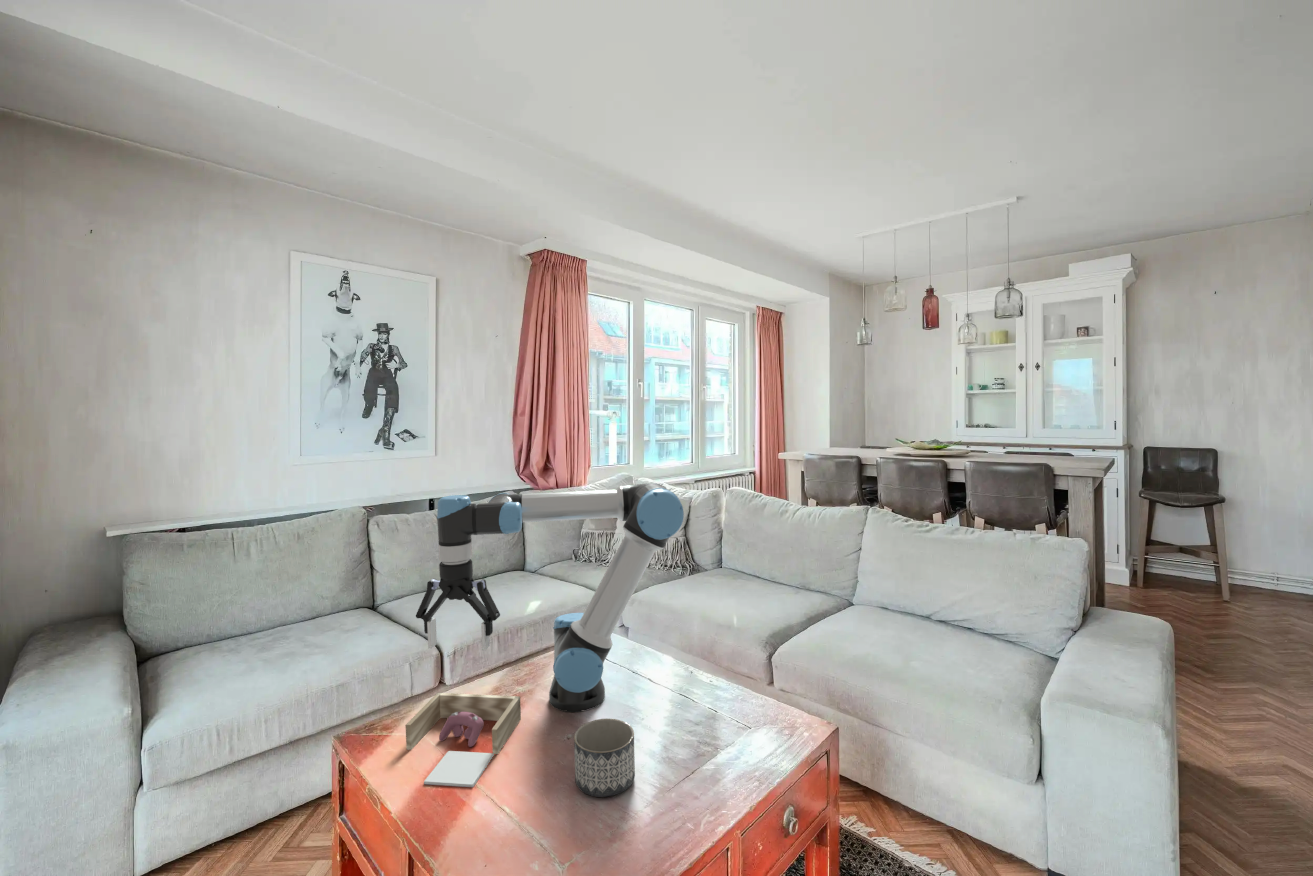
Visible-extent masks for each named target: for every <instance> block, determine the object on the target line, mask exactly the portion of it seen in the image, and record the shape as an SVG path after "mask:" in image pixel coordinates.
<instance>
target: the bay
mask: <svg viewBox="0 0 1313 876" xmlns="http://www.w3.org/2000/svg"><path fill="white" fill-rule="evenodd" d="M521 710H522V709H521V696H518V695H515V696H514V695H496V694H495V695H493V694H473V693H472V694H471V693H450V692H449V693H448V692H436V694H435V695H434V696H432V698H431V699H430V700H429V701H427V702H426V704H424V705H423V707H421V709H420V710H419V711H418V712H417V713H415V714H414V716H413V717H412V718H410V720H408V721H407V722H406V724H405V746H406V747H405V748H406V749H405V750H409V751H410V750H411V751H412V750H413V749H414V747H415V746H416V745H417V744H418V743H419V742H420V741H421V740H422V739H423V738H424V736H425V735H426V734H427V733H428V732H429V731H430V730H431V729H432V728H433V727H434V726H435V725H436V723H437V722H438V721H439V720H440V719H448V717H449V716H451V714H452V713H456V712H471V713H473V714H475V715H477V716H478V717H480V718H482V720H483V721H494V722H495V721H496V723H495V725H493V727H492V728H491V742H492V743H491V746H492V748H491V749H492V753H494V754H498V753H499V754H500V752H501V750H502V749H503V747H504V746H505V744H506V743H507V741H508V740H509V738H510V736H511V735H512V733H513V732H514V731H515V729H516V728H517V726H518V724H519V723H520V721H521V719H522V717H521V713H522V712H521ZM507 739H508V740H507ZM503 745H504V746H503ZM501 748H502V749H501ZM499 751H500V752H499ZM499 754H498V755H499Z"/></svg>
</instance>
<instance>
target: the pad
mask: <svg viewBox="0 0 1313 876" xmlns="http://www.w3.org/2000/svg"><path fill="white" fill-rule="evenodd" d="M493 756H494V757H495V755H494V753H493V752H478V751H474V752H473V751H459V750H458V751H457V750H456V751H455V750H448V751H447V752H446V753H445V754H444V756H443V757H442V758H441V759H440V761H439V762H438V763H437V764H436V766H435V767H434V768H433V769H432V771H431V772H430V773H429V774H428V775H427V777H426V778H425V779H424V780H423V784H424V785H433V786H446V787H447V786H448V787H461V788H462V787H463V788H465V787H467V788H474V787H475V786H476V784H477V782H478V781H479V779H480V778H481V776H482V775H483V773H484V772H483V771H486V769H487V767H488V766H489V764H490V763H489V762H491V761H492V760H491V759H493V758H494V757H493ZM492 757H493V758H492ZM490 760H491V761H490ZM488 763H489V764H488ZM487 765H488V766H487ZM485 768H486V769H485Z"/></svg>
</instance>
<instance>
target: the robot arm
mask: <svg viewBox="0 0 1313 876" xmlns="http://www.w3.org/2000/svg"><path fill="white" fill-rule="evenodd" d="M684 512H685V511H684V507H683V505H682V502H681V500H680V499H679V497H678V496H677V495H676V494H675V493H674V492H673V491H671V490H670V489H668V488H667V487H665V486H664V485H663V484H659V483H656V482H655V483H654V482H648V483H647V482H645V483H639V484H629V485H627V484H626V485H619V486H618V487H617V488H616V489H603V490H600V489H599V490H583V491H582V490H581V491H580V490H579V491H561V492H560V491H559V492H538V493H537V492H535V493H518V494H516V493H515V494H514V493H513V494H511V493H508V492H500V493H498V494H495V495H494V496H493V497H491V499H490V500H489V502H485V503H484V502H482V503H472V501H471V498H470V496H468V495H465V494H462V495H461V494H453V495H447V496H446V495H445V496H442V497H441V498H439V499H438V501H437V516H436V522H437V538H438V561H439V562H440V563H439V565H438V570H439V571H438V572H439V577H440V580H437V578H432V579H430V580H429V581H427V584H426V591H425V593H424V596H423V597H422V601H421V603H420V605H419V607H418V609H417V612H416V614H415V618H416V619H421V620H423V628H424V634H426V635H427V649H432V648H433V647H435V646H436V645H437V644H438V642H437V641H438V640H437V639H438V638H437V618H436V617H434V615H436V612H438V610H439V609H440V608H441V606H442V605H443V604H444V603H445V601H446V600H447V599H448V600H449V601H453V600H456V601H462V600H464V601H465V602H466V603H467V604H469V605H470V606H471V609H473V611H475V612H476V614H477V615H478V616H479V617H480V619H482V622H481V623H480V626H481V627H480V630H481V651H487V649H488V648H489V647H491V644H490V643H491V642H490V641H491V640H490V636H491V635H492V634H493V632H494V627H493V624H494V623H493V622H494V621H497V619H499V618H500V616H501V613H500V611H499V609H498V607H497V605H496V603H495V601H494V599H493V597H492V596H491V593H490V592H489V591H490V590H489V589H488V585H487V580H486V579H484V578H483V579H480V580H477V581H476V580H475V581H474V578H473V577H474V576H473V574H474V571H473V570H474V569H473V560H472V558H473V550H472V549H473V547H472V536H480V535H481V536H482V535H485V536H486V535H504V534H505V535H509V534H513V533H514V534H515V533H520V532H521V530H522V528H523V523H533V522H534V523H535V522H552V521H554V522H555V521H573V520H574V521H575V520H592V519H593V520H594V519H595V520H596V519H598V520H599V519H615V518H617V519H618V520H619V521H621V522H624V523H623V527H622V528H623V531H624V537H623V539H622V540H621V542H620V544H619V546H618V548H617V550H616V552H615V554H614V555H613V558H612V559H611V561H610V563H609V565H608V567H607V568H606V571H605V573H604V575H603V576H602V578H601V581H600V582H599V584H598V586H597V588H596V589H595V592H594V594H593V596H592V597H591V598H590V601H589V603H588V604H587V606H586V608H585V610H584V612H572V613H571V612H570V613H564V614H561V615H558V616H557V617H555V619H554V621H553V627H552V628H553V645H554V646H553V647H554V649H553V651H554V652H553V655H554V656H553V657H554V658H553V673H554V674H553V675H554V676H553V679H552V682H551V686H550V689H549V692H548V693H549V694H548V695H549V696H548V698H549V701H548V702H549V703H550V706H552V708H554V709H556V710H558V711H561V712H567V713H568V712H569V713H577V712H584V711H589V710H591V709H594V708H596V707H597V706H599V705H601V704H602V703H603V701H604V700H605V698H606V693H605V692H606V688H605V684H604V682H603V679H602V676H603V673H604V663H605V660H607V657H608V654H609V653H610V651H611V649H612V647H613V646H614V645H613V640H612V637H611V636H612V634H613V633H614V631H615V628H616V626H617V624H618V623H619V621H620V619H621V617H622V615H623V613H624V612H625V610H626V608H627V606H628V604H629V602H630V600H631V599H632V596H633V594H634V592H635V590H636V589H637V587H638V585H639V584H640V583H639V582H640V581H641V580H642V577H643V576H644V573H645V571H646V569H647V568H648V566H649V564H650V562H651V561H652V558H653V556H654V554H655V552H658V551H661V550H664V548H665V546H666V545H667V543H668V541H669V539H670V538H671V537H672V536H674V535H675V534H676V533H677V532H678V531H679V530H680V529H681V527H682V525H683V522H684V518H685V517H684V516H685V515H684V514H685V513H684ZM474 588H475V591H477V593H478V595H479V597H478V596H477V594H476V592H475V591H474V590H473V589H474ZM437 589H439V590H441V594H440V595H439V596H438V598H437V600H435V602H434V603H433V605H431V607H430V608H429V606H430V604H431V602H432V599H433V598H434V595H435V593H436V591H437ZM479 598H480V599H481V600H480V599H479ZM428 608H429V609H428ZM427 610H428V611H427Z"/></svg>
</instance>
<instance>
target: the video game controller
mask: <svg viewBox="0 0 1313 876" xmlns="http://www.w3.org/2000/svg"><path fill="white" fill-rule="evenodd" d="M464 727H467V728H466V729H464ZM483 728H484V720H482V718H480V717H478V716H477V715H475V714H473V713H471V712H456V713H452V714H451V716H449V717H448V718H446V721H445V723H444V725H443V727H442V729H441V730H440V733H439V736H438V740H439V741H440V742H444V741H445V740H446V739H447V737H448V736H449V735H450V734H451V732H452V734H453V736H454V737H455V738H456V737H457V738H459V737H461V736H462V735H463V737H464V739H466V740H468V741H467V743H468V744H467V746H468V747H469V748H472V747H473V746H475V744H476V743H477V741H478V740H479V736H480V734H481V732H482V730H483Z"/></svg>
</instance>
